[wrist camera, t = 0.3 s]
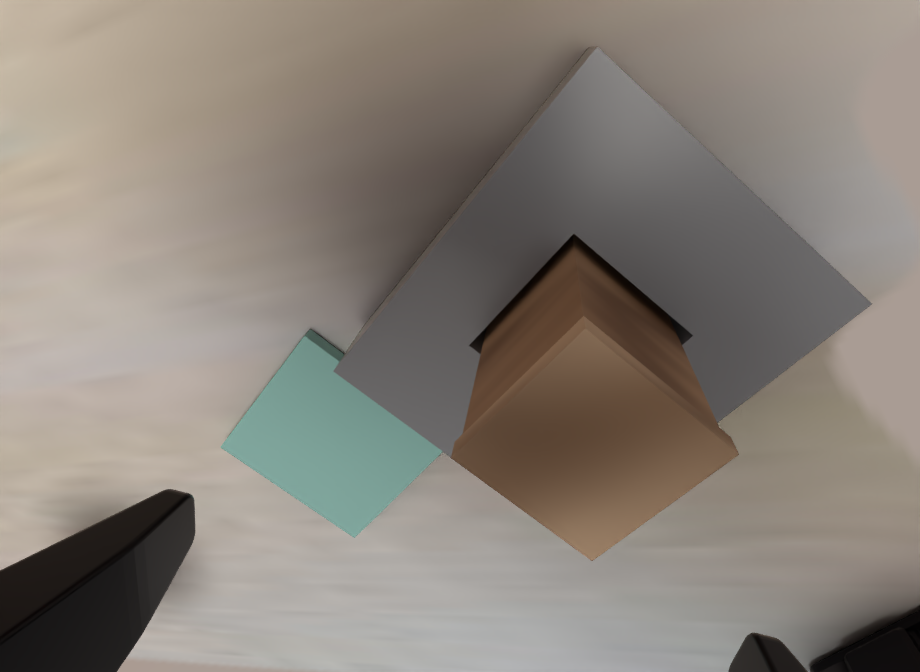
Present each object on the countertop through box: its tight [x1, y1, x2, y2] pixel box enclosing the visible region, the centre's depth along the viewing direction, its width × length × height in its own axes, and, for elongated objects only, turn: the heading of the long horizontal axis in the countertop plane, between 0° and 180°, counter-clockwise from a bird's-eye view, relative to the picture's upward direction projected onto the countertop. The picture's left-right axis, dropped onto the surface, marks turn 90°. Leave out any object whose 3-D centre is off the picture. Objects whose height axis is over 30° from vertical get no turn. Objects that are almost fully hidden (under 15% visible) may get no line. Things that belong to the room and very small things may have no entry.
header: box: [333, 47, 872, 457], centre depth 19 cm, size 10×12×4 cm
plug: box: [451, 234, 739, 561], centre depth 16 cm, size 4×4×9 cm
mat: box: [221, 329, 443, 538], centre depth 24 cm, size 7×7×1 cm
